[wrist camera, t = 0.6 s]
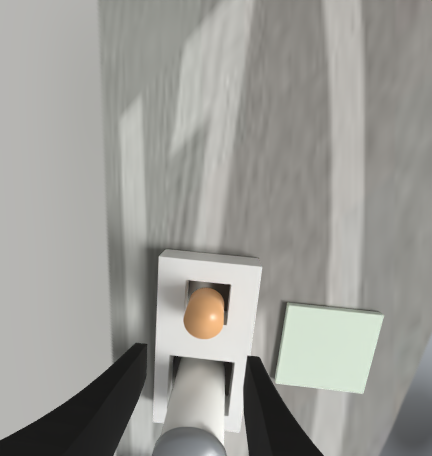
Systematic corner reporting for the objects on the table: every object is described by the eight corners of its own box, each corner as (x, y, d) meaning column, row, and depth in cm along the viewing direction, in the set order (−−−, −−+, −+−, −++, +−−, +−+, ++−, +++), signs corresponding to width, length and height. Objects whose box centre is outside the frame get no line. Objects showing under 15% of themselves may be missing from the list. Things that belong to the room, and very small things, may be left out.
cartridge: (199, 397, 23) (184, 511, 15) (167, 363, 22) (133, 464, 14) (237, 372, 22) (242, 478, 14) (204, 337, 21) (191, 427, 13)
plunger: (222, 321, 18) (221, 341, 16) (187, 317, 18) (182, 337, 16) (225, 289, 18) (225, 305, 16) (189, 285, 18) (184, 300, 16)
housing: (238, 411, 23) (239, 432, 21) (159, 401, 23) (152, 421, 21) (258, 258, 19) (262, 266, 18) (165, 249, 20) (158, 256, 18)
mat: (360, 388, 22) (363, 393, 21) (274, 378, 22) (275, 383, 21) (380, 312, 20) (383, 315, 19) (287, 302, 20) (288, 305, 20)
